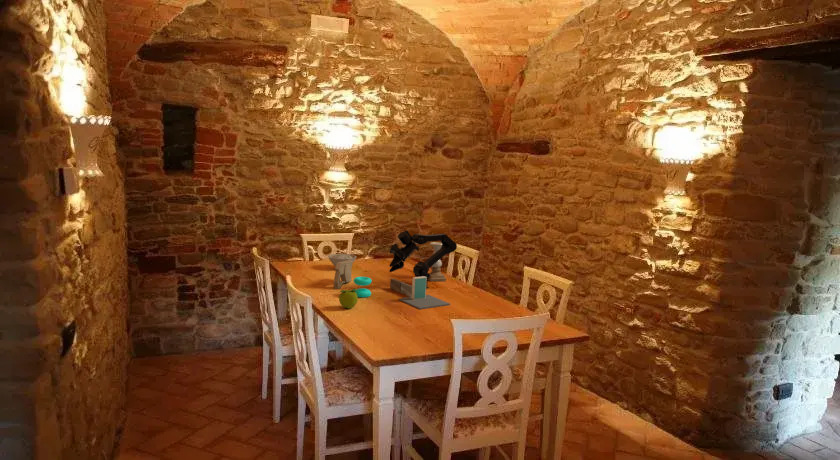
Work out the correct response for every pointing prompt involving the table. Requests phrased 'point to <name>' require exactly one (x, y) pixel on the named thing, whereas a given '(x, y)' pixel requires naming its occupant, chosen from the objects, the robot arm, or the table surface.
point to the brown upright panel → (401, 287)
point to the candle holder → (436, 266)
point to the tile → (419, 287)
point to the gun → (342, 273)
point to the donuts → (363, 282)
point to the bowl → (341, 258)
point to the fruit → (348, 298)
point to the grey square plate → (424, 302)
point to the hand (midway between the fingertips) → (389, 269)
